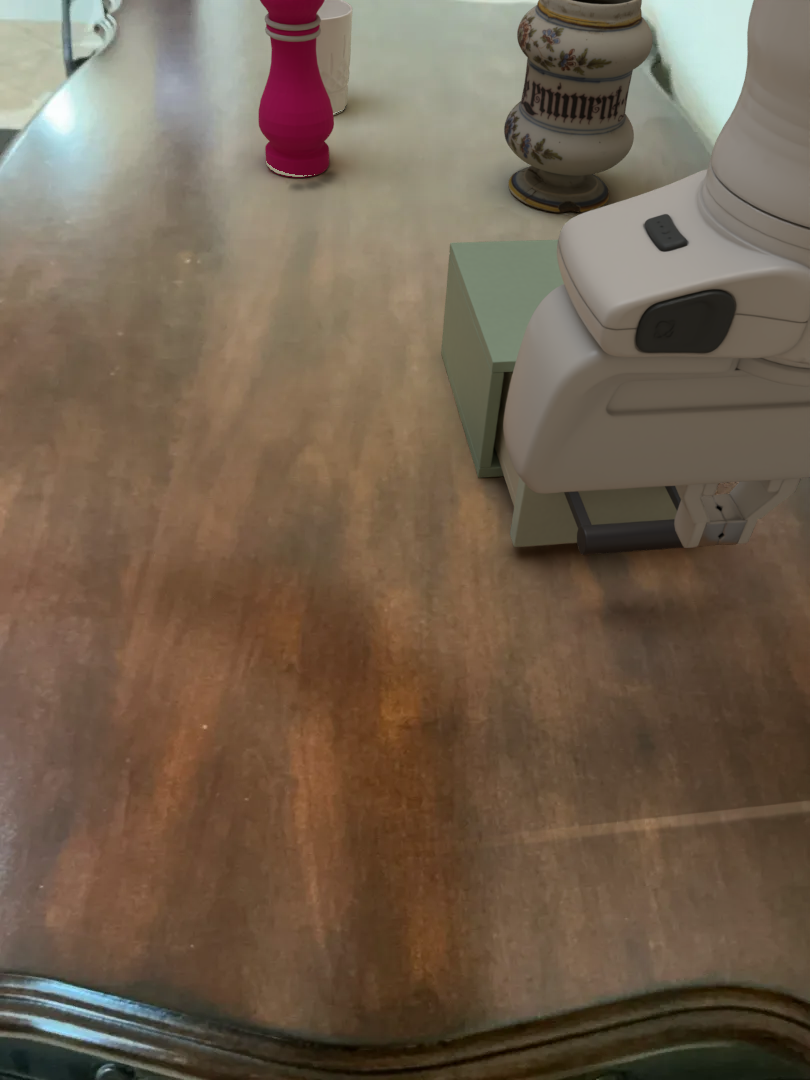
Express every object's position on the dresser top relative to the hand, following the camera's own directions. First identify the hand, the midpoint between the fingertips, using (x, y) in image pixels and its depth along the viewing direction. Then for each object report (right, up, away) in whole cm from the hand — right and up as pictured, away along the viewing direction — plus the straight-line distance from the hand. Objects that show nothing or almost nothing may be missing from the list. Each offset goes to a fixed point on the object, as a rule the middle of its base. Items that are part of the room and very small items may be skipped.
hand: (708, 536), depth 44 cm
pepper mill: (-25, +37, +52) cm, 69 cm away
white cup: (-24, +48, +63) cm, 83 cm away
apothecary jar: (+1, +34, +51) cm, 61 cm away
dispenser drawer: (-2, +3, +17) cm, 18 cm away
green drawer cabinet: (-4, +9, +25) cm, 27 cm away
